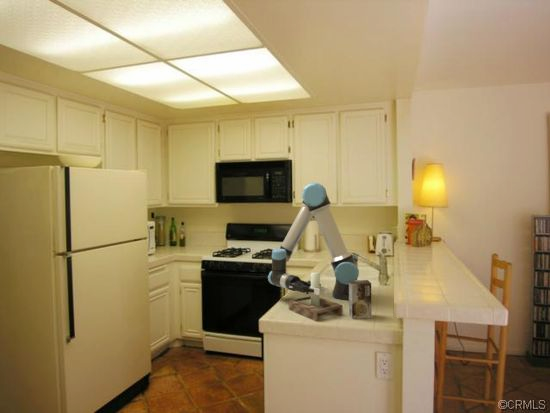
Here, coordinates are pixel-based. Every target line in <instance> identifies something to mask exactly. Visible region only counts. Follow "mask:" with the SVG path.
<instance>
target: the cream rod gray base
mask: <svg viewBox="0 0 550 413" xmlns="http://www.w3.org/2000/svg"><path fill="white" fill-rule="evenodd" d="M320 276H321V274H320V272H311V273H310V281H311V287H314V288H317V289H320V284H321V282H320V281H321V277H320ZM310 296H311V299H310V306H312V305H313V306H316V307H319V308H321V309H322V308H324V307H322V306H320V298H321V294H320V295H316V294H312V293H310ZM325 312H326V311H324V312H319V313H317V315H323V314H324V313H325Z"/></svg>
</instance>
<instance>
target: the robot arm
mask: <svg viewBox="0 0 550 413" xmlns="http://www.w3.org/2000/svg"><path fill="white" fill-rule="evenodd" d="M301 194H302V195H301V196H302V202H301V207H300V210H299V211H298V213H297V215H296V217H295V219H294V221H293V222H292V224H291V226H290V229H289V230H288V232H287V234H286V236H285V238H284V239H283V241H282V243H281V245H280V247H279V248H273V249H272V251H271V271H270V272H269V273H268V275H267V279H268V280H267V281H268V282H269V284H271V285H273V286H276V287H280V288H282V289H286V290H289V291H292V292H298V293H303V294H304V293H305V294H306V295H309V293H310V294H311V293H312V294H316V295H320V296H321V293H323V294H325V295H326V294H327V295H328V293H329V290H328V289H329V288H328V287H326V286H322V284H321V283H320V289H317V288H314V287H311V280H307V281H305V280H302V279H301V278H300V277H299V276H298V275H293V274H290V273H287V263H288V262H289V261H290V259H291V257H292V254H293V252H294V250H295V248H296V247H297V245H298V243H299V242H300V240H301V237H302V236H303V234H304V232H305V231H306V228H307V226H308V225H309V223H310V222H311V219H312V218H313V216H314V218H315V221H316V222H317V223H316V224H317V225H318V228H319V230H320V233H321V235H322V237H323V240H324V242H325V244H326V247H327V249H328V252H329V254H330V261H329V262H330V265H331V267H332V269H333V271H334V277H335V284H334V287H333V289H332V297H333V298H335V299H338V300H346V301H347V300H348V301H349V280H358V278H359V275H360V270H359V266H358V261H359V259H358V256H357V254H353V253H351V252H350V251H348V250H347V248H346V244H345V242H344V240H343V237H342V235H341V232H340V230H339V228H338V226H337V223H336V220H335V218H334V216H333V214H332V211H331V209H330V207H331V201H330V199H329V196H328V194H327V189H326V188H325V186H324V185H322V184H320V183H318V182H311V183H309V184H307V185H305V187H303V190H302V193H301Z"/></svg>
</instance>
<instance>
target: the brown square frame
mask: <svg viewBox="0 0 550 413" xmlns="http://www.w3.org/2000/svg"><path fill="white" fill-rule="evenodd" d="M307 300H311V295H310V296H305V297H300V298H295V299H289V300H288V311H292V312H293V313H296V314H298V315H300V316H303V317H304V318H307V319H309V320H312V321H314V322H317V321H318V314H317V313H319V312H324V311H325V312H328V311H329V312H331V313H334V314H337V315H339V316H343V314H344V306H343V305H342V304H340V303H337V302H335V301H331V300H329V299H325V298H323V297H320V306H322V307H324V308H322V309H321V308H319V307H316V306H313V305H312V306H311V305H307V304H303V303H301V302H302V301H303V302H304V301H307Z"/></svg>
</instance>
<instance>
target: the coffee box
mask: <svg viewBox="0 0 550 413" xmlns="http://www.w3.org/2000/svg"><path fill="white" fill-rule="evenodd" d="M348 316H350V318H351V319H352V320H357V319H360V320H361V319H363V320H364V319H372V318H373V317H372V283H371V282H370V281H369V280H368V279H364V280H362V279H360V280H358V279H357V280H349V300H348Z"/></svg>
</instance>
